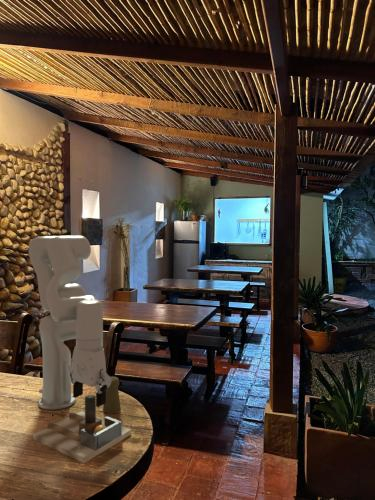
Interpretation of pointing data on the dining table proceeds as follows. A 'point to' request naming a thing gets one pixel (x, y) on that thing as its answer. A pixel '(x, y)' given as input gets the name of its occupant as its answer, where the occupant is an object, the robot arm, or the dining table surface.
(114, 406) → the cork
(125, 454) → the dining table surface
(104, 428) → the ball
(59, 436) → the lane board
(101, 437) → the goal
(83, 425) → the player block
